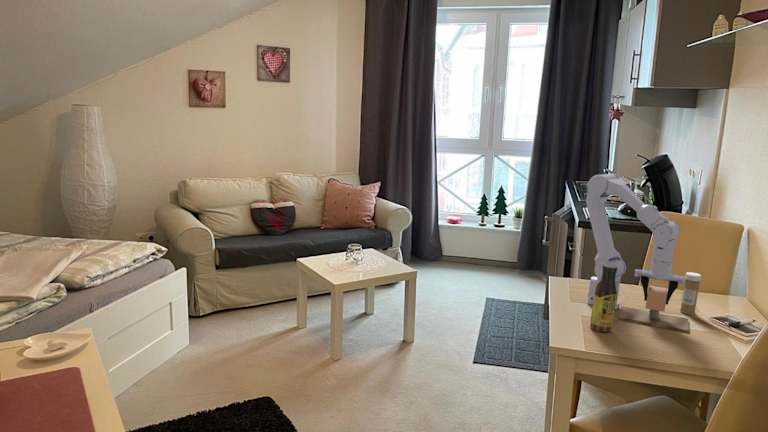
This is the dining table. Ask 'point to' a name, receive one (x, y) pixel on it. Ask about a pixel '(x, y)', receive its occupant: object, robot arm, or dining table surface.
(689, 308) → the sprinkles bottle
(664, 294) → the pink block
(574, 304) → the dining table surface
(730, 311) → the dining table surface
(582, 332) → the dining table surface
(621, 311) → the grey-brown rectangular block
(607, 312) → the sauce bottle
